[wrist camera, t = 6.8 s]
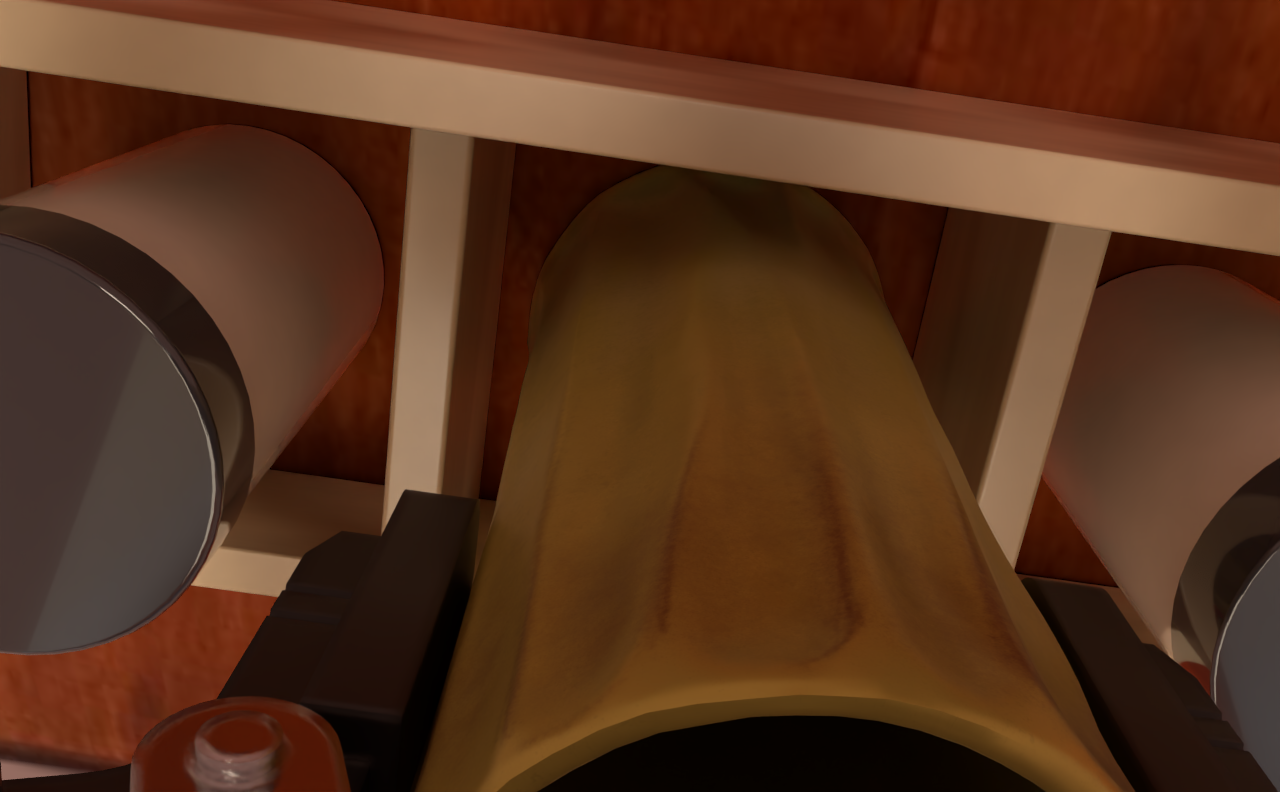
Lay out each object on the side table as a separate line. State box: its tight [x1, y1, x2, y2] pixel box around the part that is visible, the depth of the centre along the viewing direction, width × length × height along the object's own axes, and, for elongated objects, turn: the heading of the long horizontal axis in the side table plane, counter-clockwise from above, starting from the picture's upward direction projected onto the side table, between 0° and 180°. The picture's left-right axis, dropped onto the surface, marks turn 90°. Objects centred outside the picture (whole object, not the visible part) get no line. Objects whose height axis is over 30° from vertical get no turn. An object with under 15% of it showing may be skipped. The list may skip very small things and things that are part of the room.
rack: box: [0, 0, 1280, 653], centre depth 18 cm, size 25×9×6 cm, turn 82°
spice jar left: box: [0, 124, 384, 655], centre depth 17 cm, size 5×5×8 cm
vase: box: [410, 165, 1135, 792], centre depth 14 cm, size 6×6×14 cm
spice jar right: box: [1041, 265, 1280, 792], centre depth 17 cm, size 5×5×8 cm
